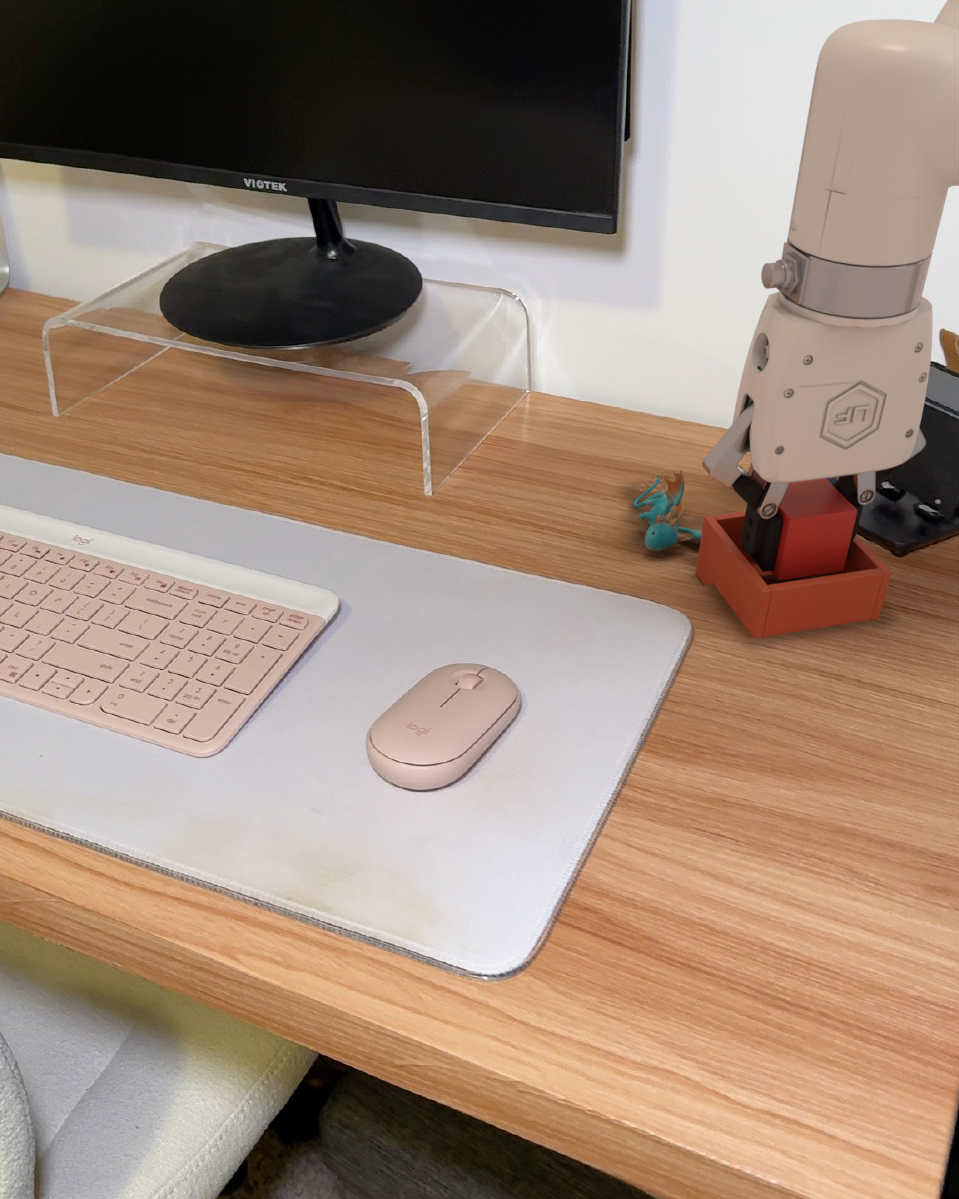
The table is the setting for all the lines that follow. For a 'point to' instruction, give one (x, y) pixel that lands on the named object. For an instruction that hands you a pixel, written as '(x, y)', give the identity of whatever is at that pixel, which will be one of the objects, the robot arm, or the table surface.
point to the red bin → (788, 584)
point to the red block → (813, 530)
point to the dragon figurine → (665, 515)
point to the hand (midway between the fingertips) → (795, 551)
